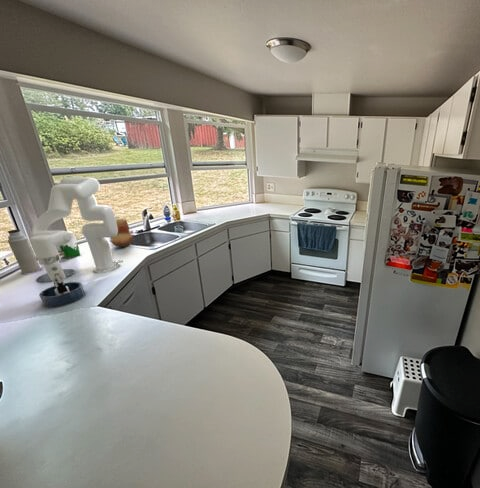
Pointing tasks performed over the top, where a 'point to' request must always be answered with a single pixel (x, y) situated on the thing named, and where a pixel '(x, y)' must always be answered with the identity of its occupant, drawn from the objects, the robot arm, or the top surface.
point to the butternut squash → (122, 233)
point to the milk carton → (70, 247)
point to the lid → (47, 279)
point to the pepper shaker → (58, 292)
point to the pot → (55, 301)
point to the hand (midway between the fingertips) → (61, 290)
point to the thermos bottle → (23, 252)
